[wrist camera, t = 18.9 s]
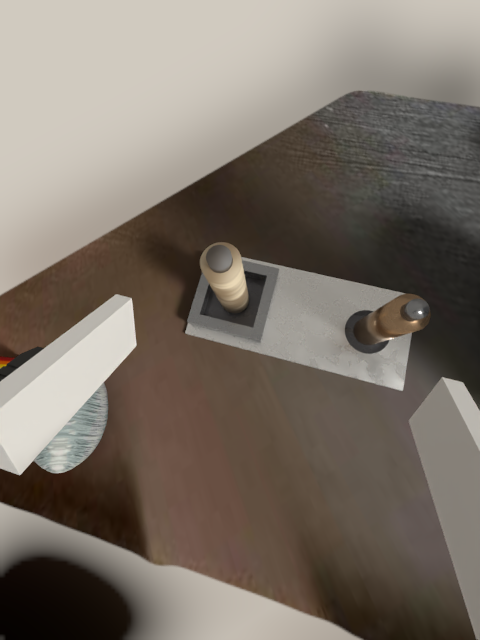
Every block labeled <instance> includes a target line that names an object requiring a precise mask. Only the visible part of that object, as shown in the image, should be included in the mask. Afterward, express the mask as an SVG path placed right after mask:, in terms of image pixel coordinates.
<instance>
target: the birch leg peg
mask: <svg viewBox="0 0 480 640" xmlns="http://www.w3.org/2000/svg"><path fill="white" fill-rule="evenodd" d="M200 268H201V270H202V272H203V274H204V276H205V277H206V279H207V281H208V283H209V284H210V286H211V288H212V290H213V291H214V293H215V295H216V296H217V298H218V300H219V302H220V303H221V305H222V307H223V308H224V309H225V310H226V311H227V312H230V313H239V312H242V311H243V310H244V309H245V308H246V307H247V306H248V303H249V295H248V290H247V285H246V279H245V274H244V269H243V264H242V259H241V255H240V253H239V251H238V250H237V248H236V247H234V246H233V245H231V244H229V243H225V242H219V243H215V244H212V245H210V246H209V247H207V248H206V249H205V250H204V252H203V253H202V255H201V258H200Z"/></svg>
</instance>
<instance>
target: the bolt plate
mask: <svg viewBox="0 0 480 640" xmlns="http://www.w3.org/2000/svg"><path fill="white" fill-rule="evenodd" d="M241 259H242V264H243V269H244V274H245V279H246V285H247V290H248V295H249V303H248V306H247V307H246V308H245V309H244V310H243V311H242V312H239V313H230V312H227V311H226V310H225V309H224V308H223V307H222V305H221V303H220V302H219V300H218V298H217V296H216V295H215V293H214V291H213V290H212V288H211V286H210V284H209V283H208V281H207V279H206V277H205V276H204V274H203V272H202V275H201V278H200V281H199V284H198V287H197V291H196V294H195V297H194V300H193V303H192V307H191V310H190V313H189V316H188V319H187V322H188V325H187V328H186V331H185V334H188V335H192V336H196V337H199V338H203V339H207V340H211V341H215V342H218V343H222V344H226V345H230V346H233V347H237V348H241V349H245V350H249V351H252V352H256V353H260V354H264V355H267V356H271V357H275V358H279V359H283V360H286V361H290V362H294V363H298V364H302V365H305V366H309V367H313V368H317V369H320V370H324V371H328V372H332V373H336V374H339V375H343V376H347V377H351V378H354V379H358V380H362V381H366V382H370V383H373V384H377V385H381V386H385V387H389V388H392V389H396V390H400V391H403V386H404V379H405V373H406V367H407V360H408V354H409V348H410V341H411V335H412V332H415V331H418V330H421V329H423V328H424V327H425V326H426V325H427V324H428V323H429V321H430V317H431V312H430V308H429V305H428V304H427V302H426V301H425V300H424V299H422V298H421V297H419V296H417V295H414V294H406V293H401V292H397V291H392V290H388V289H383V288H379V287H374V286H370V285H365V284H361V283H356V282H352V281H347V280H343V279H338V278H334V277H329V276H325V275H320V274H316V273H311V272H307V271H302V270H298V269H293V268H289V267H284V266H280V265H275V264H271V263H266V262H262V261H257V260H253V259H248V258H244V257H241Z"/></svg>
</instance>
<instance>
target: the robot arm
mask: <svg viewBox="0 0 480 640" xmlns="http://www.w3.org/2000/svg"><path fill="white" fill-rule="evenodd" d="M135 347H136V336H135V325H134V315H133V305H132V298H129V297H125V296H121V295H117V294H116V295H115V296H113V297H112V298H111V299H109V300H108V301H107V302H105V303H104V304H103V305H101V306H100V307H99V308H97V309H96V310H95V311H93V312H92V313H91V314H89V315H88V316H87V317H85V318H84V319H83V320H81V321H80V322H79V323H77V324H76V325H75V326H73V327H72V328H71V329H69V330H68V331H67V332H65V333H64V334H63V335H61V336H60V337H59V338H57V339H56V340H55V341H53V342H52V343H51V344H49V345H48V346H47V347H46V348H41V347H36V348H34V349H31V350H29V351H27V352H24V353H22V354H20V355H19V356H17V357H16V358H14V359H13V360H12V361H10V362H9V363H7V365H6V366H3V367H2V368H0V468H1V469H4V470H7V471H9V472H12V473H15V474H18V475H21V474H22V472H23V471H24V470H25V469H26V468H27V467H28V466H29V465H30V464H31V462H32V461H33V460H34V459H35V458H36V457H37V456H38V455H39V454H40V452H41V451H42V450H43V449H44V448H45V447H46V446H47V445H48V444H49V442H50V441H51V440H52V439H53V438H54V437H55V436H56V435H57V434H58V432H59V431H60V430H61V429H62V428H63V427H64V426H65V425H66V423H67V422H68V421H69V420H70V419H71V418H72V417H73V416H74V415H75V413H76V412H77V411H78V410H79V409H80V408H81V407H82V406H83V405H84V403H85V402H86V401H87V400H88V399H89V398H90V397H91V396H92V395H93V393H94V392H95V391H96V390H97V389H98V388H99V387H100V386H101V385H102V383H103V382H104V381H105V380H106V379H107V378H108V377H109V376H110V375H111V373H112V372H113V371H114V370H115V369H116V368H117V367H118V366H119V365H120V363H121V362H122V361H123V360H124V359H125V358H126V357H127V356H128V355H129V353H130V352H131V351H132V350H133V349H134V348H135ZM409 424H410V427H411V430H412V433H413V437H414V440H415V443H416V446H417V450H418V453H419V456H420V459H421V462H422V466H423V469H424V472H425V475H426V479H427V482H428V485H429V488H430V491H431V495H432V498H433V501H434V504H435V508H436V511H437V514H438V517H439V520H440V524H441V527H442V530H443V533H444V537H445V540H446V543H447V546H448V549H449V553H450V556H451V559H452V562H453V566H454V569H455V572H456V575H457V578H458V582H459V585H460V588H461V591H462V595H463V598H464V601H465V604H466V607H467V611H468V614H469V617H470V620H471V624H472V627H473V630H474V633H475V636H476V639H478V640H480V411H479V409H478V407H477V405H476V404H475V402H474V400H473V399H472V397H471V395H470V393H469V392H468V390H467V388H466V387H465V385H464V383H463V382H459V381H456V380H452V379H448V378H444V377H442V378H441V379H440V380H439V382H438V383H437V384H436V386H435V387H434V388H433V390H432V391H431V392H430V394H429V395H428V396H427V397H426V399H425V400H424V401H423V403H422V404H421V405H420V407H419V408H418V409H417V411H416V412H415V413H414V414H413V416H412V417H411V418H410V420H409Z"/></svg>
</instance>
